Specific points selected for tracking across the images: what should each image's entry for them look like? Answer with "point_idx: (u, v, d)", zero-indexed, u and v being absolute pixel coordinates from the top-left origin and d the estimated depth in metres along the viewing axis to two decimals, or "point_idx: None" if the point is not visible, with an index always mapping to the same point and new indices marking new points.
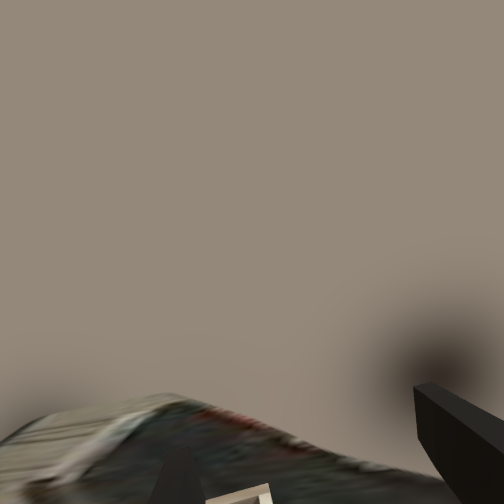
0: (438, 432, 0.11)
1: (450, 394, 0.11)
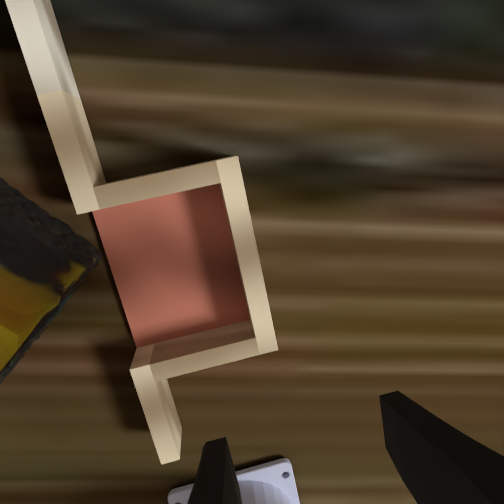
0: (402, 442, 0.11)
1: (413, 404, 0.11)
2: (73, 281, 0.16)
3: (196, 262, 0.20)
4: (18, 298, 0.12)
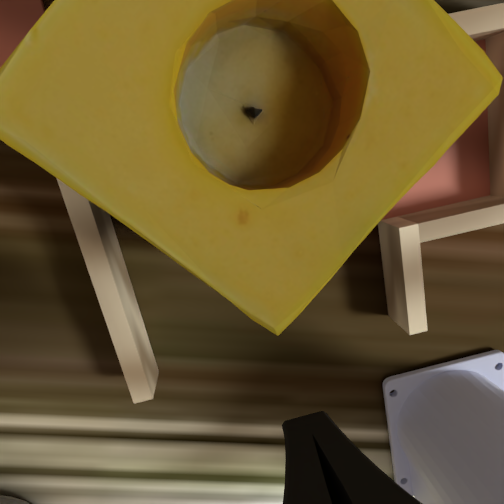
0: None
1: (331, 426, 0.10)
2: None
3: None
4: None
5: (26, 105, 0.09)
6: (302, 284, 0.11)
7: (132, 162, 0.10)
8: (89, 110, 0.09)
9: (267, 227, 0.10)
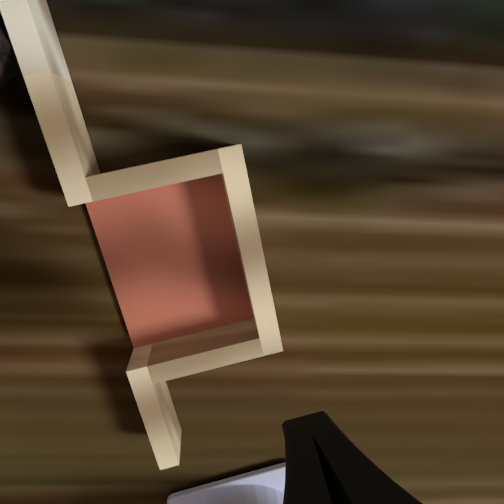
0: None
1: (331, 427, 0.10)
2: None
3: (196, 258, 0.19)
4: None
5: None
6: None
7: None
8: None
9: None
